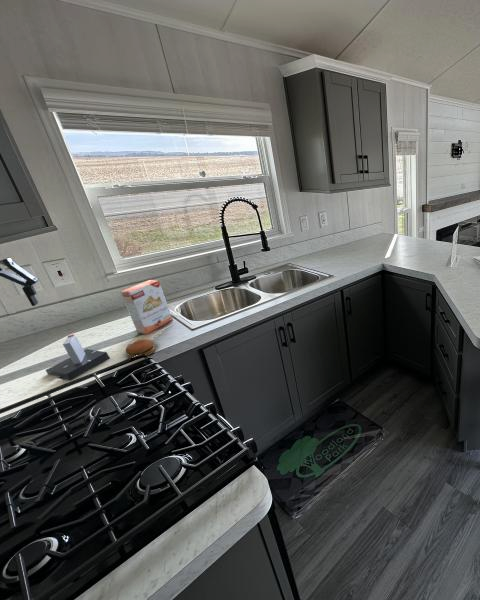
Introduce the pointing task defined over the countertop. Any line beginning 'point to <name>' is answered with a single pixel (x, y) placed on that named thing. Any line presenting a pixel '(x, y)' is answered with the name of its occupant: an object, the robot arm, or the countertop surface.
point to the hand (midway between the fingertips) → (7, 309)
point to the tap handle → (74, 349)
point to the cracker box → (147, 306)
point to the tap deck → (78, 365)
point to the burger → (140, 347)
